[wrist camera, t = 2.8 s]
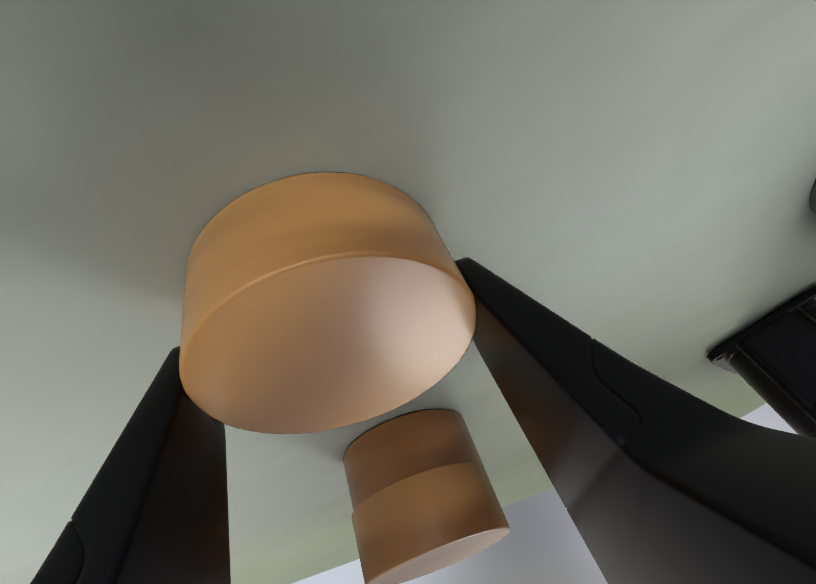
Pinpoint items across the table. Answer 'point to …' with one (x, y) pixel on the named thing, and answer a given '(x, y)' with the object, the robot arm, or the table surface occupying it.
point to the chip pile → (419, 497)
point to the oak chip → (319, 306)
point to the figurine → (813, 199)
